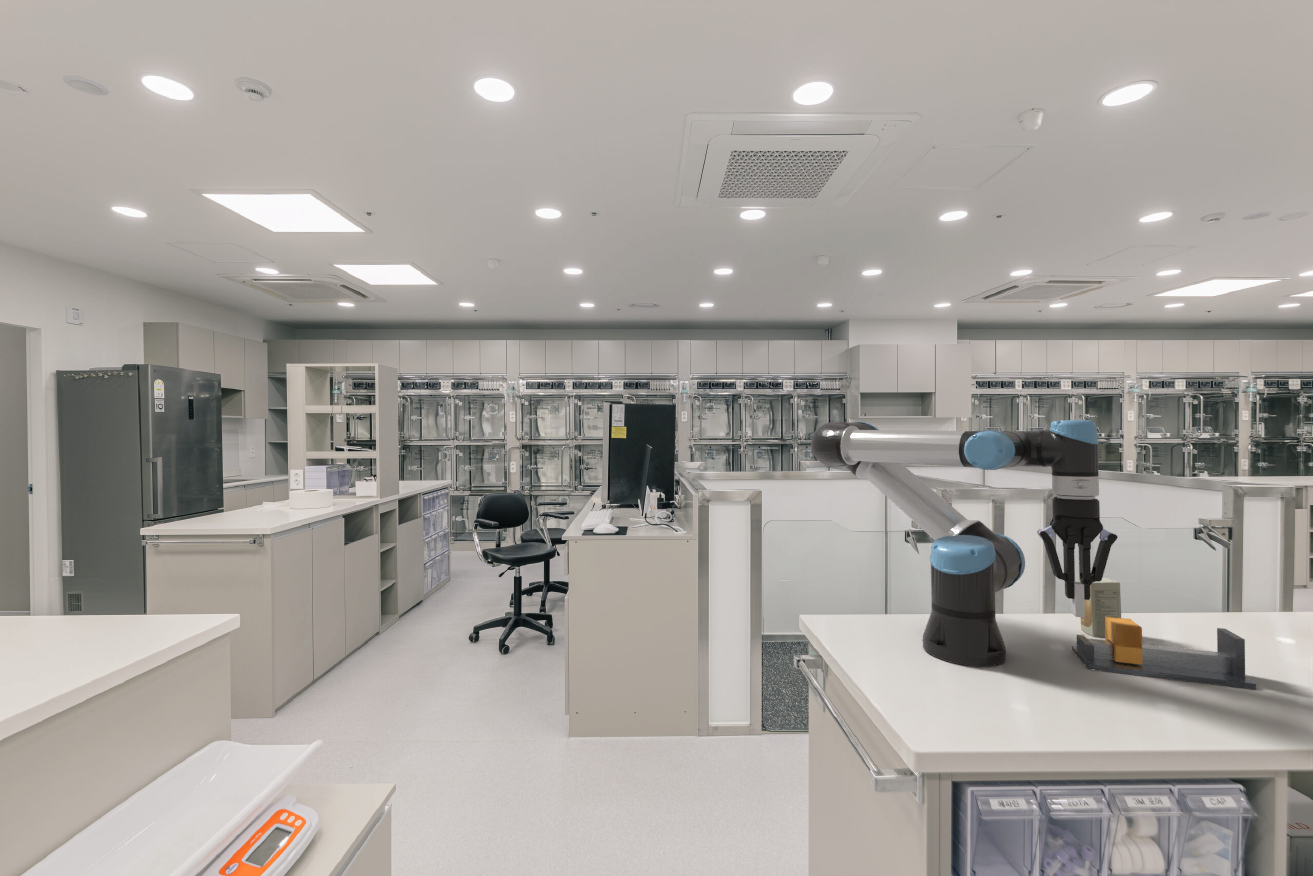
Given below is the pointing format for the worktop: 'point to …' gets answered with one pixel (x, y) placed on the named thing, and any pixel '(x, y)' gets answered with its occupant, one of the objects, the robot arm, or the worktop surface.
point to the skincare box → (1101, 606)
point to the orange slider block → (1124, 639)
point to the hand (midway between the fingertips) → (1077, 615)
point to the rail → (1167, 672)
